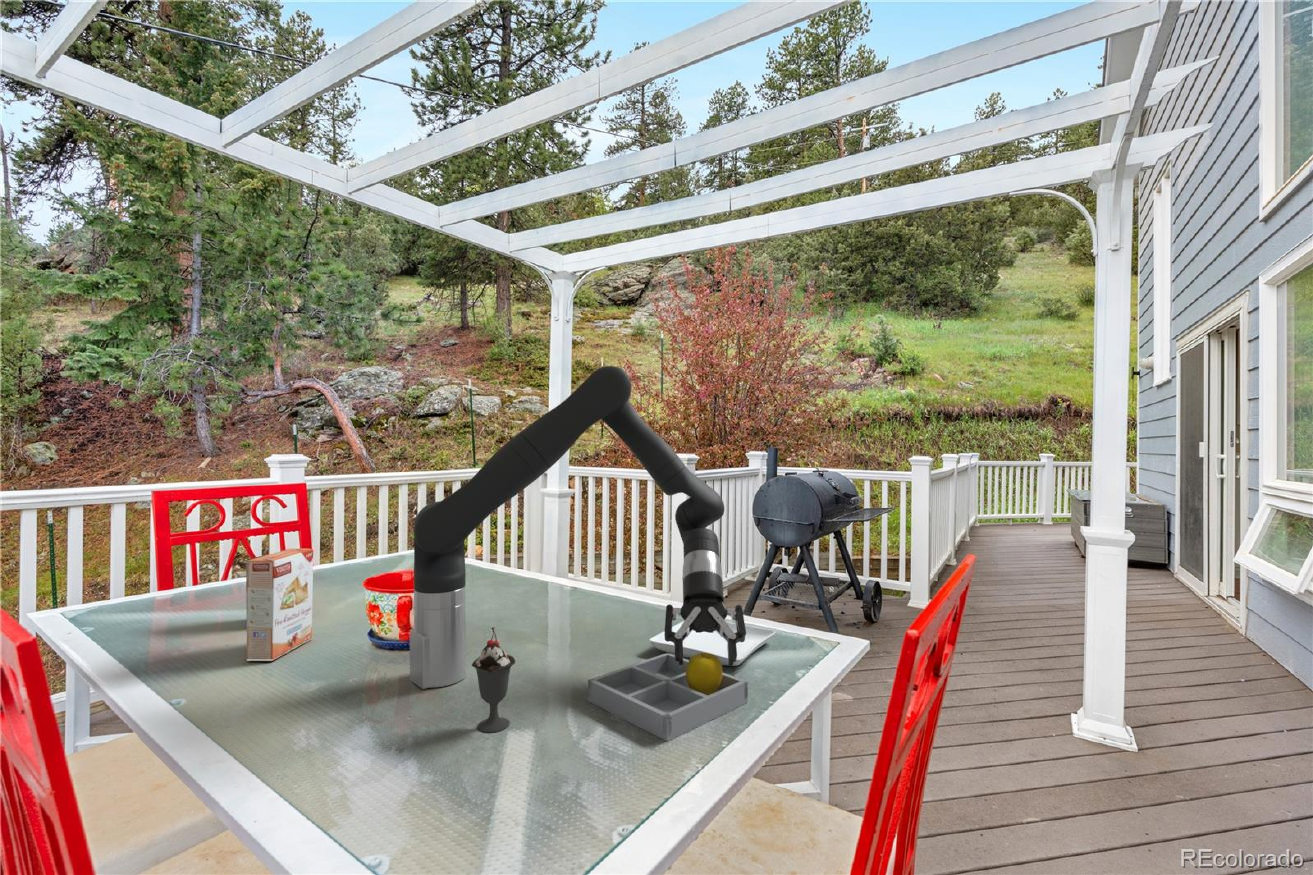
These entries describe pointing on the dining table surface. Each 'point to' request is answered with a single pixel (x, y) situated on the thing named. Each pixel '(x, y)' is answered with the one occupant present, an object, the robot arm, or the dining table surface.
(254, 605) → the cracker box
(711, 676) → the apple
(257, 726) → the dining table surface
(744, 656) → the salad plate
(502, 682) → the sundae
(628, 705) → the tray
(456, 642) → the robot arm
